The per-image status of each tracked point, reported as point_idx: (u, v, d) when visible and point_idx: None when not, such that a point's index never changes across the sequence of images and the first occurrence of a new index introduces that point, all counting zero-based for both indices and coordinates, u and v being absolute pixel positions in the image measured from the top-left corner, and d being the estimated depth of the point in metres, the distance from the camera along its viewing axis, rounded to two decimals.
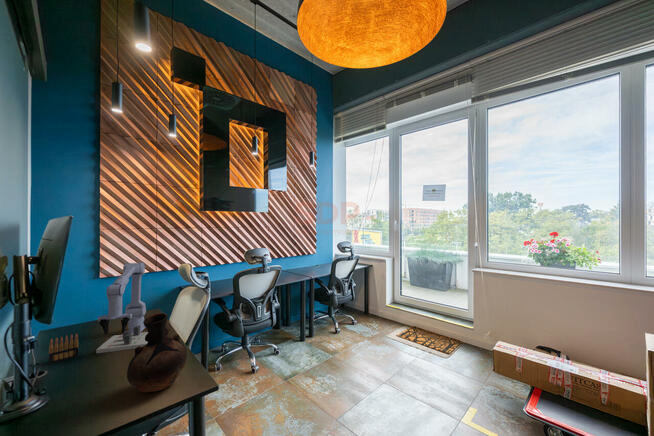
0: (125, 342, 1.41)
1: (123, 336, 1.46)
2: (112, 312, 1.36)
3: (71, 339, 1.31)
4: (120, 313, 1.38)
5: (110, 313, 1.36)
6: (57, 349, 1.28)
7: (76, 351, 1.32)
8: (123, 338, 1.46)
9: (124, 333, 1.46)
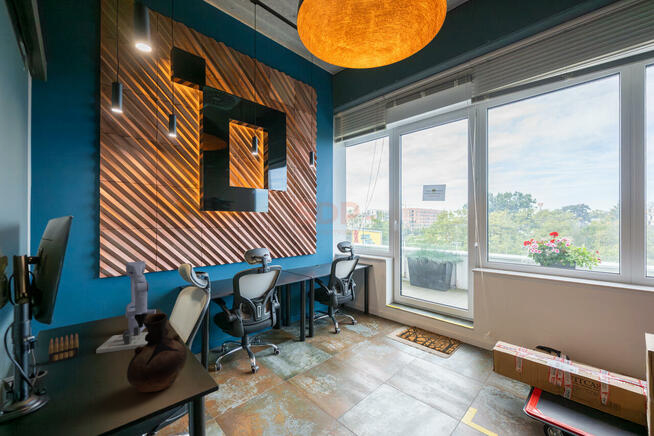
0: (125, 342, 1.41)
1: (123, 336, 1.46)
2: (139, 308, 1.47)
3: (71, 339, 1.31)
4: (145, 309, 1.50)
5: (137, 309, 1.47)
6: (57, 349, 1.28)
7: (76, 351, 1.32)
8: (123, 338, 1.46)
9: (124, 333, 1.46)
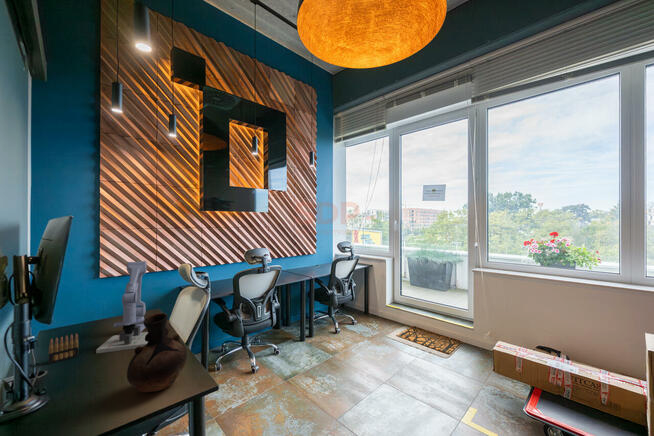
0: (125, 342, 1.41)
1: (120, 336, 1.46)
2: (127, 319, 1.46)
3: (71, 339, 1.31)
4: (134, 319, 1.48)
5: (125, 320, 1.46)
6: (57, 349, 1.28)
7: (76, 351, 1.32)
8: (120, 338, 1.46)
9: (121, 333, 1.46)
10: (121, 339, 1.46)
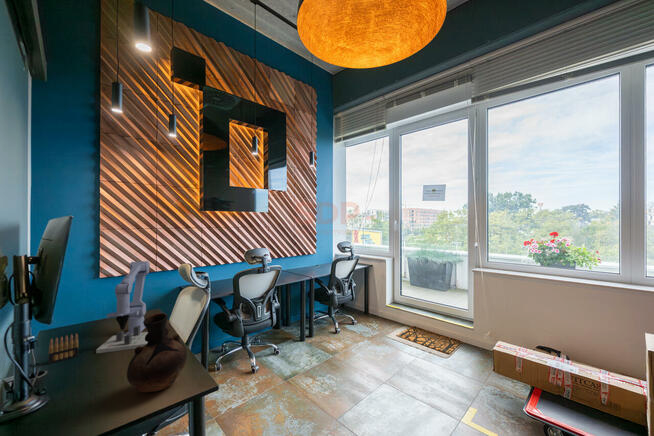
0: (125, 342, 1.41)
1: (116, 337, 1.45)
2: (120, 309, 1.45)
3: (71, 339, 1.31)
4: (128, 310, 1.48)
5: (118, 310, 1.45)
6: (57, 349, 1.28)
7: (76, 351, 1.32)
8: (116, 339, 1.45)
9: (118, 334, 1.45)
10: (118, 339, 1.45)
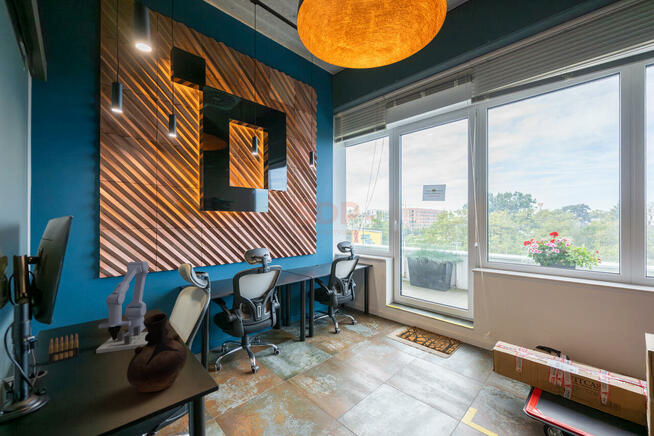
0: (125, 342, 1.41)
1: (117, 337, 1.45)
2: (112, 320, 1.44)
3: (71, 339, 1.31)
4: (119, 321, 1.46)
5: (110, 321, 1.44)
6: (57, 349, 1.28)
7: (76, 351, 1.32)
8: (117, 339, 1.45)
9: (118, 334, 1.45)
10: (119, 339, 1.45)
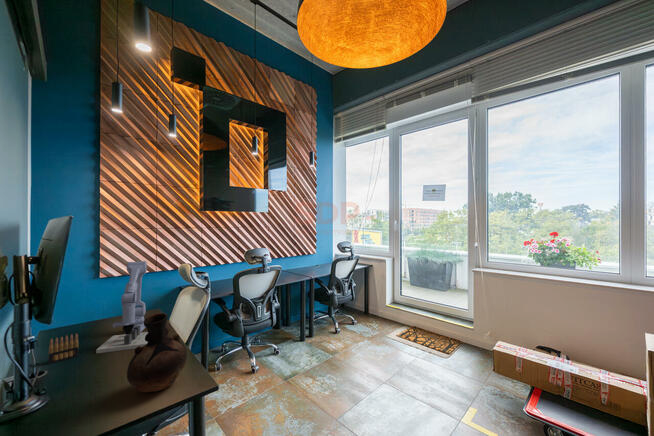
0: (125, 342, 1.41)
1: None
2: (126, 319, 1.46)
3: (71, 339, 1.31)
4: (133, 320, 1.48)
5: (124, 320, 1.45)
6: (57, 349, 1.28)
7: (76, 351, 1.32)
8: None
9: (131, 332, 1.47)
10: None
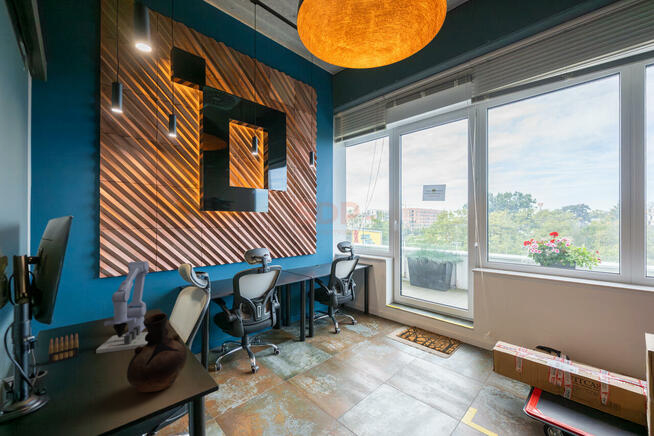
0: (125, 342, 1.41)
1: None
2: (118, 317, 1.44)
3: (71, 339, 1.31)
4: (125, 318, 1.47)
5: (116, 318, 1.44)
6: (57, 349, 1.28)
7: (76, 351, 1.32)
8: None
9: (130, 332, 1.47)
10: None
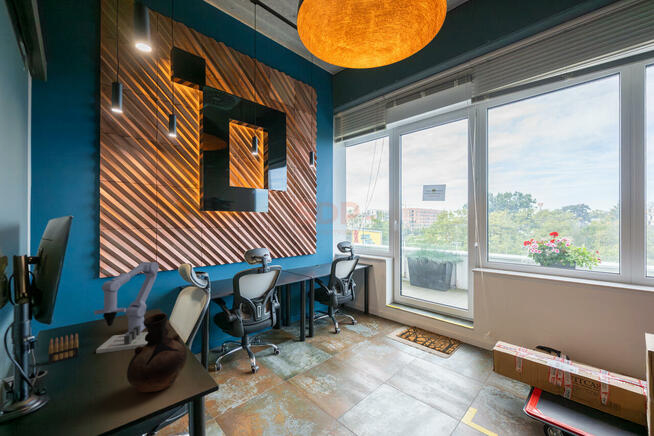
0: (125, 342, 1.41)
1: None
2: (107, 306, 1.47)
3: (71, 339, 1.31)
4: (115, 307, 1.50)
5: (105, 307, 1.47)
6: (57, 349, 1.28)
7: (76, 351, 1.32)
8: None
9: (130, 332, 1.47)
10: None
